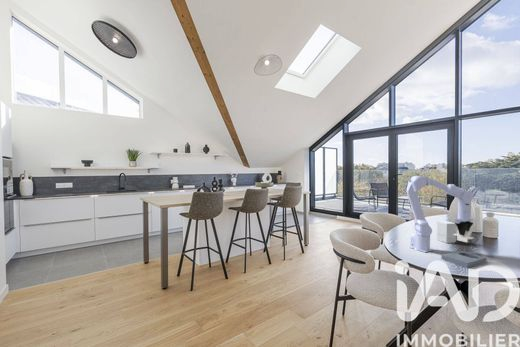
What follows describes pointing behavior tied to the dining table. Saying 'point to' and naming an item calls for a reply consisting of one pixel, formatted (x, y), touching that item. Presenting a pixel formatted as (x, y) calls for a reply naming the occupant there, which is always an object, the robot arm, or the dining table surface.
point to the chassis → (464, 258)
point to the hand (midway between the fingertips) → (463, 234)
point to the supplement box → (446, 231)
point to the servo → (464, 236)
